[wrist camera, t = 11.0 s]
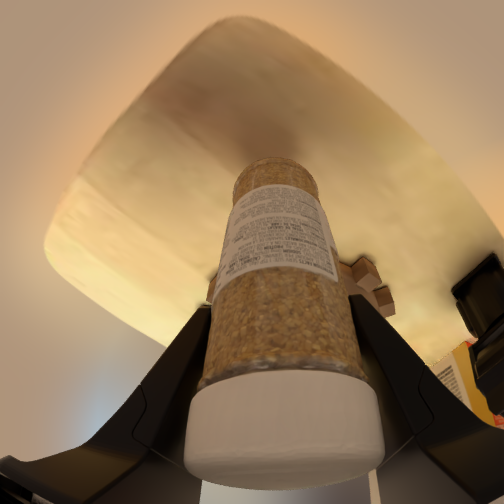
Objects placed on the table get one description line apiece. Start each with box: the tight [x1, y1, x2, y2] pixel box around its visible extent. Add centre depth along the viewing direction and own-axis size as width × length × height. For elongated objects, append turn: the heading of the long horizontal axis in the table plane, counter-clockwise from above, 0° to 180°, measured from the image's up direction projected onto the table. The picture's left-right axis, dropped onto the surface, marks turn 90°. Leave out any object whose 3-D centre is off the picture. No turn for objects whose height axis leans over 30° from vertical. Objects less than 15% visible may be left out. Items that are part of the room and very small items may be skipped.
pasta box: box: [368, 341, 504, 504], centre depth 28 cm, size 23×8×30 cm, turn 153°
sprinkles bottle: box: [183, 158, 385, 490], centre depth 10 cm, size 5×5×13 cm
